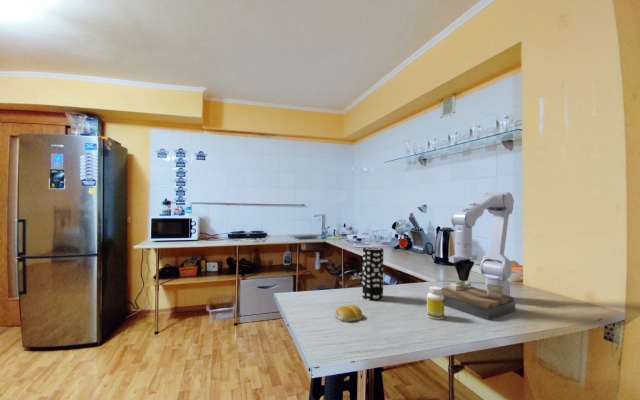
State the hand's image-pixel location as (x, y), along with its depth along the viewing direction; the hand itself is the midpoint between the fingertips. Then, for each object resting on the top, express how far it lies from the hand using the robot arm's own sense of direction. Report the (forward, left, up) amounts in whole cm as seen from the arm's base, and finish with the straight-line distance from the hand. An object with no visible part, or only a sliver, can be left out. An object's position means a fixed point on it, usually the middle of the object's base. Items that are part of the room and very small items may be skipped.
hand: (463, 280), depth 103 cm
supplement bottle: (+16, 0, -11) cm, 19 cm away
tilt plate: (-6, 0, -7) cm, 9 cm away
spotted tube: (+21, -26, -11) cm, 35 cm away
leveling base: (-6, 0, -10) cm, 12 cm away
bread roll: (+42, -14, -11) cm, 46 cm away
